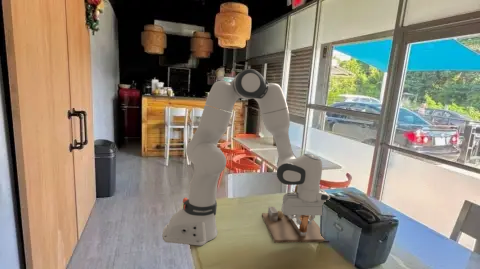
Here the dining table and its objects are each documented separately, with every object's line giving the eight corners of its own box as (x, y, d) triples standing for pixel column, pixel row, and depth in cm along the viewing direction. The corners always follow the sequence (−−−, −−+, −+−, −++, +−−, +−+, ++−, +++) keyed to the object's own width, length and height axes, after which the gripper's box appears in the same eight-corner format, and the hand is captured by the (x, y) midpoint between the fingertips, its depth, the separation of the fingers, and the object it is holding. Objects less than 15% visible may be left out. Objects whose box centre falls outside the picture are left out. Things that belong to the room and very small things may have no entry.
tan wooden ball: (276, 220, 124) (277, 213, 124) (274, 216, 128) (275, 209, 127) (283, 220, 125) (284, 213, 124) (281, 216, 128) (282, 209, 128)
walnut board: (274, 242, 108) (275, 230, 107) (261, 215, 130) (262, 204, 129) (329, 241, 112) (331, 229, 111) (307, 215, 134) (309, 205, 133)
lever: (298, 237, 111) (301, 217, 109) (283, 212, 132) (285, 195, 130) (308, 236, 111) (311, 217, 110) (291, 212, 132) (293, 195, 131)
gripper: (286, 195, 105) (282, 227, 107) (334, 196, 108) (329, 227, 110) (281, 189, 111) (278, 220, 113) (326, 190, 114) (322, 220, 116)
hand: (303, 223), depth 112 cm, fingers closed on lever, 3 cm apart
